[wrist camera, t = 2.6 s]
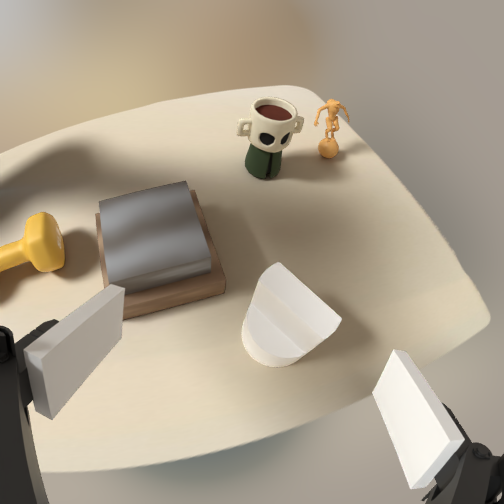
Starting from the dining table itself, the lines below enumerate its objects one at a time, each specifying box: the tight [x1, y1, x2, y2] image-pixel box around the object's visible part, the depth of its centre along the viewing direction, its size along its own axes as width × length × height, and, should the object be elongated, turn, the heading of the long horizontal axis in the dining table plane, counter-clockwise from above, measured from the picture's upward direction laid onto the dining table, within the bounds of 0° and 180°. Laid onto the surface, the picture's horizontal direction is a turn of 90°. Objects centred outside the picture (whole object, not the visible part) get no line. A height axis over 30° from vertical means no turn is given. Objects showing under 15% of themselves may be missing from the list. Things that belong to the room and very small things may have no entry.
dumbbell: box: [0, 212, 65, 272], centre depth 36 cm, size 19×9×8 cm, turn 113°
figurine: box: [314, 99, 349, 158], centre depth 55 cm, size 8×6×12 cm
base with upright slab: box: [241, 262, 342, 368], centre depth 35 cm, size 9×9×12 cm
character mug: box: [237, 97, 304, 179], centre depth 49 cm, size 11×7×13 cm, turn 105°
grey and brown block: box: [95, 181, 226, 320], centre depth 40 cm, size 15×15×8 cm
